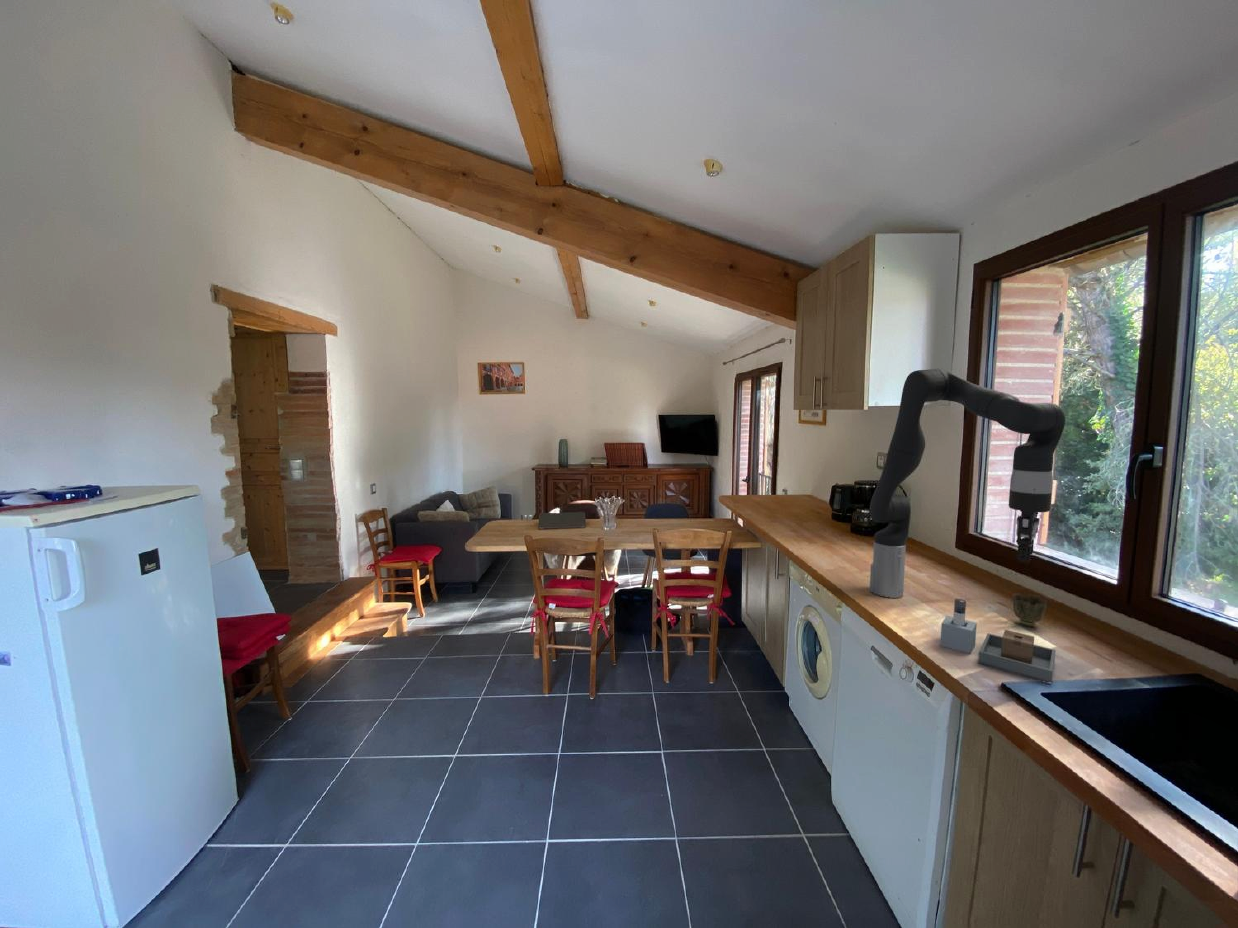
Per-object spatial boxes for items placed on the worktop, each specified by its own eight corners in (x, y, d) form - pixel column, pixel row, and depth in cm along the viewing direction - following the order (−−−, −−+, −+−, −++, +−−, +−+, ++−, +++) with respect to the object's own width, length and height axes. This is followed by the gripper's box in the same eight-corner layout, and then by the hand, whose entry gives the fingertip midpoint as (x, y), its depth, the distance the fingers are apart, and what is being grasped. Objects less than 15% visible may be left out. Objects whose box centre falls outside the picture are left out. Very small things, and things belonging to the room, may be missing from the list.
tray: (978, 663, 117) (979, 651, 117) (986, 644, 127) (987, 633, 126) (1051, 684, 108) (1052, 671, 108) (1054, 661, 118) (1055, 649, 117)
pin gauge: (951, 645, 126) (953, 600, 125) (952, 641, 128) (955, 597, 127) (962, 648, 125) (965, 603, 123) (963, 644, 126) (966, 600, 125)
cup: (1041, 622, 139) (1043, 595, 138) (1047, 633, 132) (1050, 604, 132) (1008, 617, 142) (1010, 591, 142) (1013, 627, 136) (1015, 599, 135)
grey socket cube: (940, 645, 126) (941, 623, 126) (945, 636, 131) (946, 615, 130) (970, 653, 122) (972, 630, 121) (975, 644, 126) (976, 622, 126)
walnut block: (1030, 669, 114) (1032, 644, 113) (1000, 660, 117) (1002, 637, 117) (1032, 660, 117) (1034, 636, 117) (1003, 652, 121) (1005, 629, 121)
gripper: (1050, 495, 105) (1044, 568, 107) (1053, 487, 115) (1048, 554, 117) (1006, 491, 110) (1000, 561, 112) (1013, 484, 120) (1008, 548, 122)
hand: (1025, 557), depth 115 cm, fingers open, 8 cm apart
